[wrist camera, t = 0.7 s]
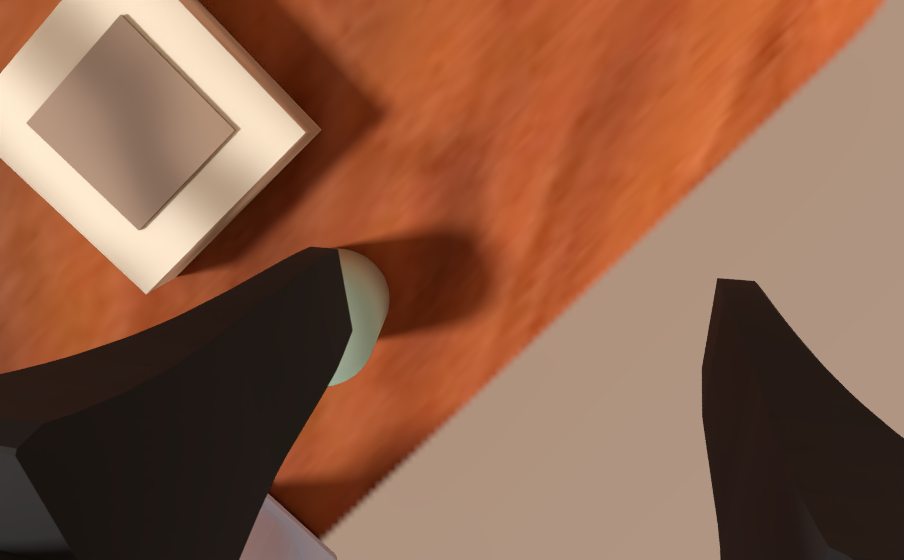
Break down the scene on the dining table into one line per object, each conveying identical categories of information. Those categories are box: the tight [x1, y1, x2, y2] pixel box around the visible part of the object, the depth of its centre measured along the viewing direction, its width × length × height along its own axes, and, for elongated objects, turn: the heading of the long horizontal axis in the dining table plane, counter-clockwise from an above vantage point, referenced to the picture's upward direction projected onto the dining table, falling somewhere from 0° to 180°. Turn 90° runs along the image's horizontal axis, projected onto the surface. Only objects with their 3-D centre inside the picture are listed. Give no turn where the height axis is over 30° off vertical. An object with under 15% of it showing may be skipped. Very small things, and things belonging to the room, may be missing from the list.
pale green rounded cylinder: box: [328, 248, 390, 386], centre depth 30 cm, size 5×5×5 cm
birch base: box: [0, 0, 321, 294], centre depth 29 cm, size 10×10×3 cm
